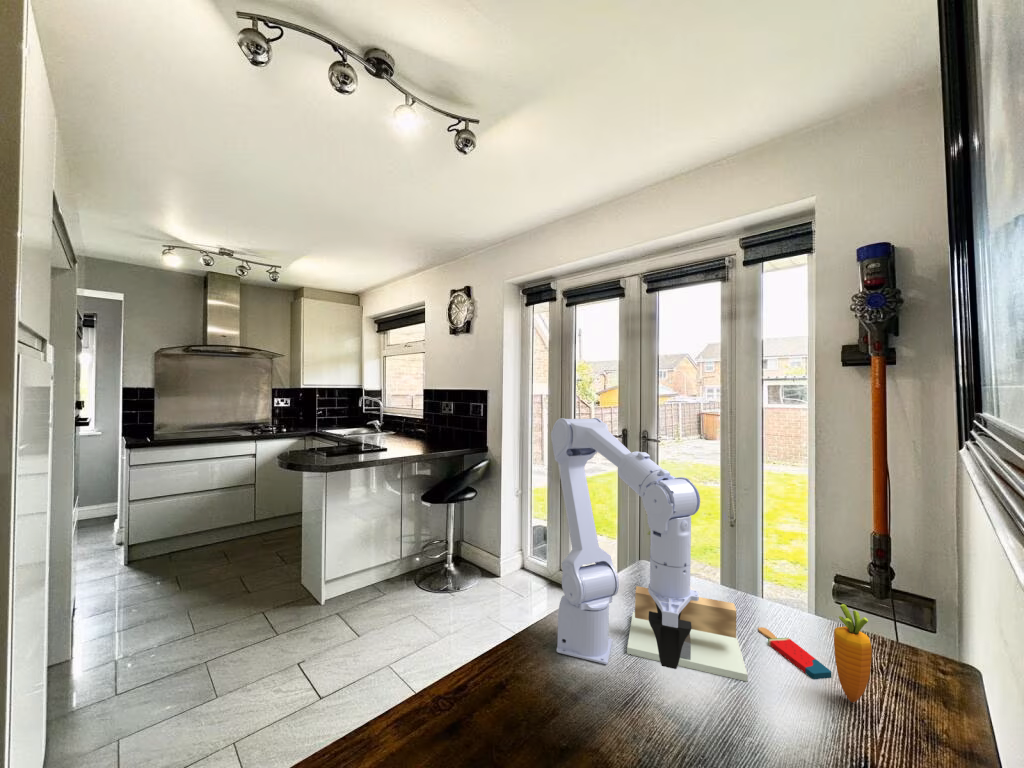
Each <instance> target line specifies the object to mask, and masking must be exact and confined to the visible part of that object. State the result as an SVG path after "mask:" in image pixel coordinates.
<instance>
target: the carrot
mask: <svg viewBox="0 0 1024 768" xmlns="http://www.w3.org/2000/svg"><path fill="white" fill-rule="evenodd" d="M839 607H840V610H841V612H842V614H843V615H844V616H845V617H843V616H841V615H839V616H838V619H839V620H841V622H842V623H843V625H844V626H837V627H835V628H834V629H833V644H834V645H833V646H834V647H833V649H834V658H835V665H836V672H837V676H838V680H839V683H840V685H841V689H842V690H843V693H844V694H845V696H846V699H848V700H849V702H850V703H856V702H857V701H858V700H860V698H861V697H862V696H863V695H864V693H865V691H866V689H867V685H868V683H869V679H870V675H871V667H872V653H873V651H872V650H873V649H872V644H871V643H872V642H871V639H870V637H869V636H868V635H867V634H866V633H864V632H862V631H861V630H862V629H863V627H864V626H866V624H868V622H869V620H868V618H866V617H865V616H864V617H862V618H861V615H860V613H859V611H857V610H852V614H851V612H850V610H849V608H848V607H847V605H846V604H844V603H841V604H840V605H839ZM852 615H853V617H852Z"/></svg>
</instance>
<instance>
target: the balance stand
mask: <svg viewBox="0 0 1024 768" xmlns="http://www.w3.org/2000/svg"><path fill="white" fill-rule="evenodd" d="M626 654H627V655H630V654H631V655H630V656H635V657H638V658H643V659H649V660H653V661H657V662H660V658H659V652H658V646H657V641H656V637H655V634H654V632H653V629H652V627H651V626H650V623H649V620H644V619H639V618H635V610H634V611H632V616H631V623H630V628H629V636H628V641H627V647H626ZM744 661H745V660H744V658H743V654H742V649H741V648H740V643H739V640H738V636H737V635H736V638H733V637H728V636H723V635H718V634H713V633H708V632H703V631H698V630H693V629H691V631H690V633H689V635H688V636H687V638H686V639H685V641H684V644H683V646H682V650H681V655H680V659H679V663H678V667H682V668H687V669H691V670H695V671H700V672H704V673H709V674H712V675H713V674H714V675H717V676H722V677H727V678H731V679H733V680H734V679H735V680H739V681H743V682H746V683H747V682H748V677H749V676H748V672H747V671H748V670H747V667H746V665H745V662H744Z"/></svg>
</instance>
